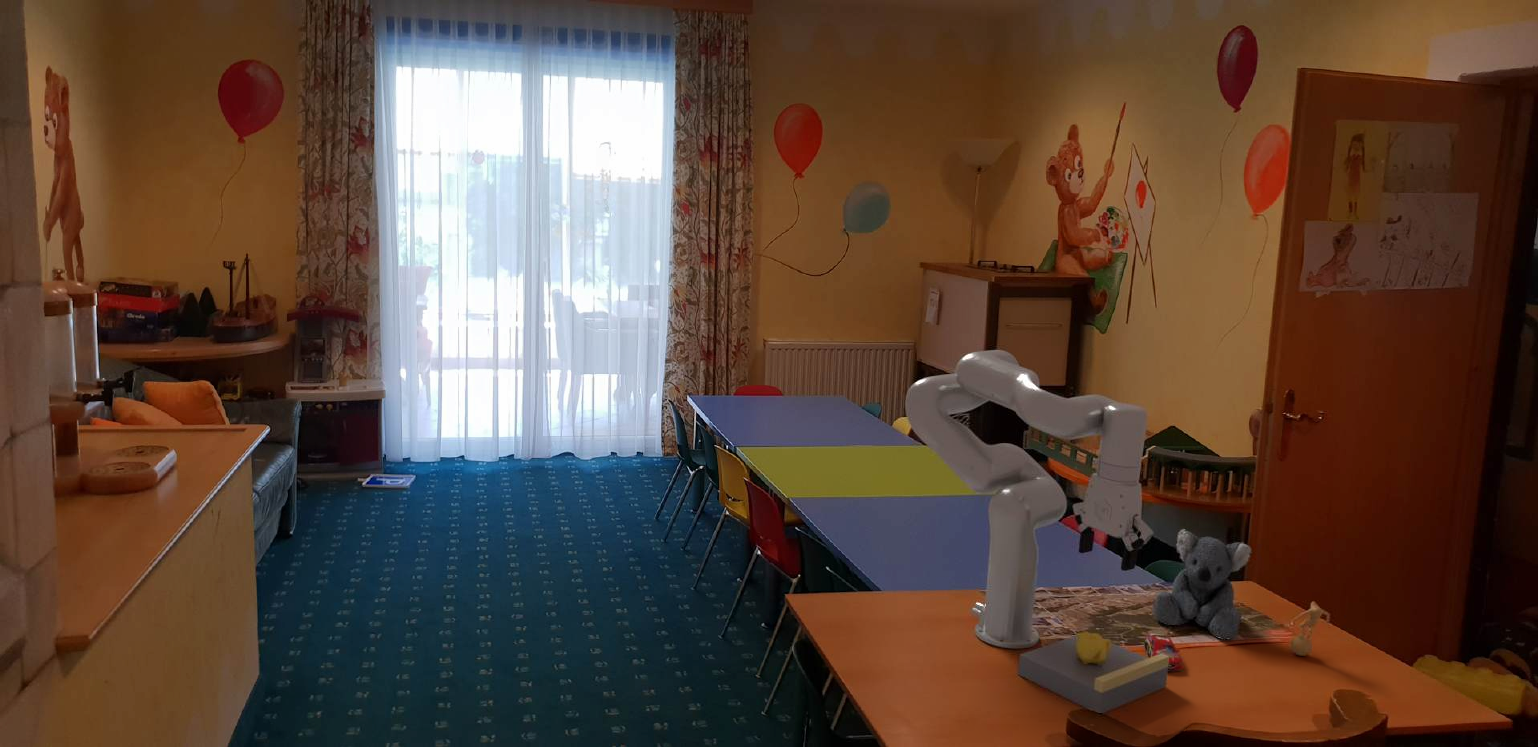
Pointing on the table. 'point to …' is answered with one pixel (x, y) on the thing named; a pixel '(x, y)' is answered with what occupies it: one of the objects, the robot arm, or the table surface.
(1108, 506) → the robot arm
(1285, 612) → the table surface
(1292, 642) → the figurine
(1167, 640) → the race car
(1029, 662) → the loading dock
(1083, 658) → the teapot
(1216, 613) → the koala plush
